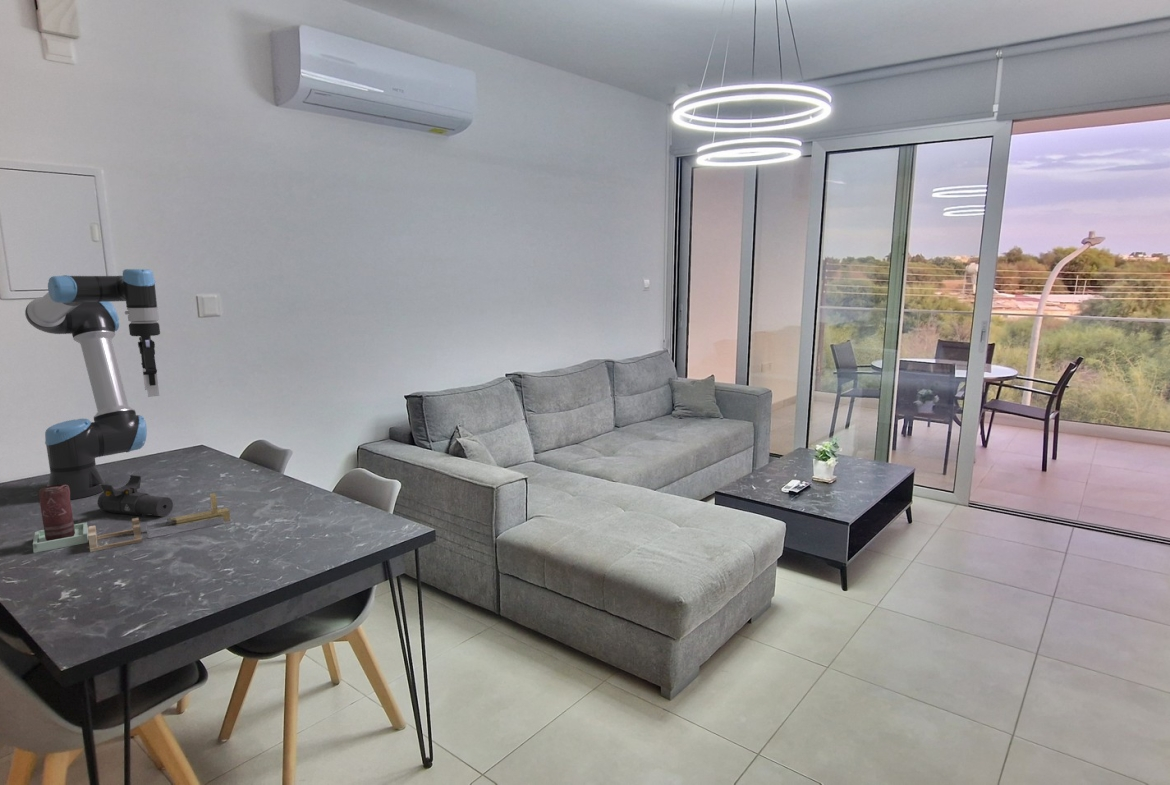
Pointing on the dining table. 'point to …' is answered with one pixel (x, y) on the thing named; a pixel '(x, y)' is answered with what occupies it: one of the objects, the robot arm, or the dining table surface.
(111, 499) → the laser sight
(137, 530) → the socket
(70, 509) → the can
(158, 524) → the keeper guide
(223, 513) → the keeper bolt
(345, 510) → the dining table surface
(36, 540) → the pale green shallow tray
